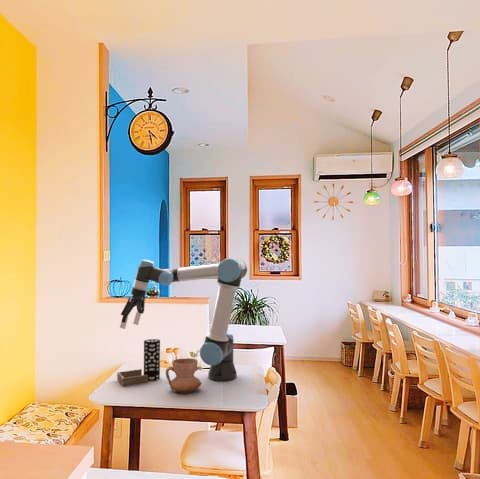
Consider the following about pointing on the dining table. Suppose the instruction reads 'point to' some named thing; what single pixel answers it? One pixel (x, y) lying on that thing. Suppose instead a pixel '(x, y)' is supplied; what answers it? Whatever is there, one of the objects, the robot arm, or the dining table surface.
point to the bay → (131, 378)
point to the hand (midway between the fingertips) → (129, 326)
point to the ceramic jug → (184, 375)
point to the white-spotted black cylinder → (152, 359)
